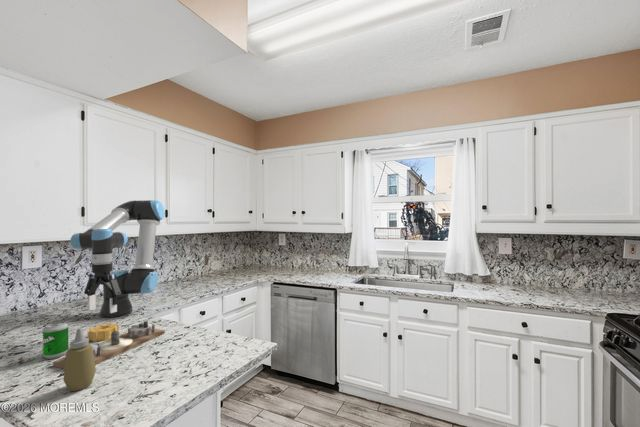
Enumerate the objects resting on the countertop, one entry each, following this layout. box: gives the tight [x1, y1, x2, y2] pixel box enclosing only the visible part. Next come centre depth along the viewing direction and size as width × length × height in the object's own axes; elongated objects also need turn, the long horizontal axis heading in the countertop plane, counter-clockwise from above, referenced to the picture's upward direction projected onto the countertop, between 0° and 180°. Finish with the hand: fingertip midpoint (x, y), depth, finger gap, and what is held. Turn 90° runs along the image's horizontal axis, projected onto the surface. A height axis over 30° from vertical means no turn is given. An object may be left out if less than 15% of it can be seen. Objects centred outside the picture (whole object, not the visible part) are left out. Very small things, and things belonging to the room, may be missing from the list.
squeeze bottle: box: [63, 328, 97, 392], centre depth 97 cm, size 8×8×18 cm
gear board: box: [52, 320, 166, 370], centre depth 125 cm, size 36×14×7 cm, turn 160°
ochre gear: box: [87, 322, 119, 343], centre depth 137 cm, size 11×11×4 cm
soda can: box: [42, 321, 70, 360], centre depth 119 cm, size 8×8×12 cm
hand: (102, 311), depth 137 cm, fingers open, 13 cm apart
